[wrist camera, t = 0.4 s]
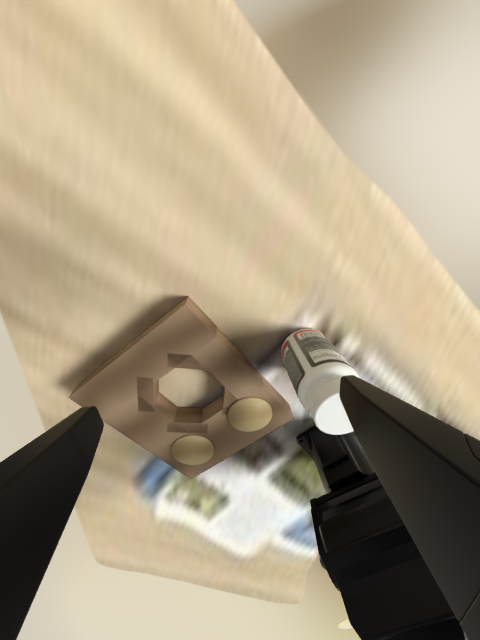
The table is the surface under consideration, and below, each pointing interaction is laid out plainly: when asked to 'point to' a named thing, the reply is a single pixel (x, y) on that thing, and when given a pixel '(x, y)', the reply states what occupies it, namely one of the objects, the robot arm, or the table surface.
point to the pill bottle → (318, 378)
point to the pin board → (183, 422)
